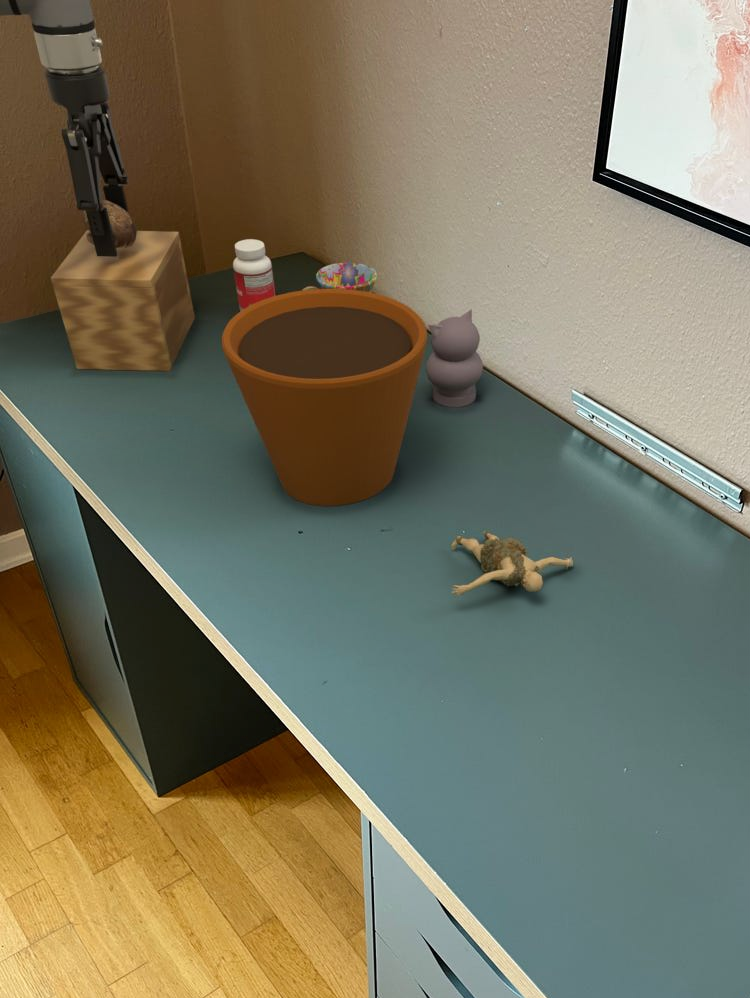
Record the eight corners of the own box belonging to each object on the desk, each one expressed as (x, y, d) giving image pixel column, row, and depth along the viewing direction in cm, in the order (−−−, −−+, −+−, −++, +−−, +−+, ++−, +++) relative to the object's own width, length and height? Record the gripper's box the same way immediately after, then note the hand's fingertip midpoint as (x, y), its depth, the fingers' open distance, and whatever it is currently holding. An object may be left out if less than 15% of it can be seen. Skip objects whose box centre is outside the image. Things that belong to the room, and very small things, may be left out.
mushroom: (60, 223, 136) (79, 187, 133) (103, 228, 143) (121, 194, 140) (95, 263, 136) (114, 228, 133) (136, 267, 143) (155, 233, 140)
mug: (372, 323, 157) (369, 259, 150) (386, 349, 151) (383, 283, 143) (300, 332, 154) (293, 267, 147) (311, 358, 148) (304, 292, 140)
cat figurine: (448, 416, 136) (448, 337, 128) (414, 395, 141) (413, 317, 132) (493, 398, 141) (496, 320, 132) (459, 377, 145) (460, 301, 136)
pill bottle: (242, 303, 161) (231, 237, 154) (278, 303, 162) (270, 237, 154) (238, 319, 157) (227, 252, 149) (275, 319, 157) (267, 252, 150)
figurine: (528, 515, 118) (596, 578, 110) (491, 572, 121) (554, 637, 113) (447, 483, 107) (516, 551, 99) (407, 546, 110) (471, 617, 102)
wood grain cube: (76, 369, 143) (50, 277, 134) (109, 316, 157) (87, 229, 147) (170, 371, 144) (150, 279, 134) (195, 318, 157) (178, 231, 147)
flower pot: (371, 410, 137) (362, 273, 123) (463, 490, 123) (466, 346, 109) (216, 459, 127) (188, 316, 113) (298, 553, 113) (278, 402, 99)
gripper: (79, 89, 116) (122, 273, 132) (123, 48, 131) (158, 217, 147) (17, 87, 116) (68, 272, 132) (68, 46, 131) (109, 216, 147)
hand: (115, 243), depth 139 cm, fingers closed on mushroom, 8 cm apart
